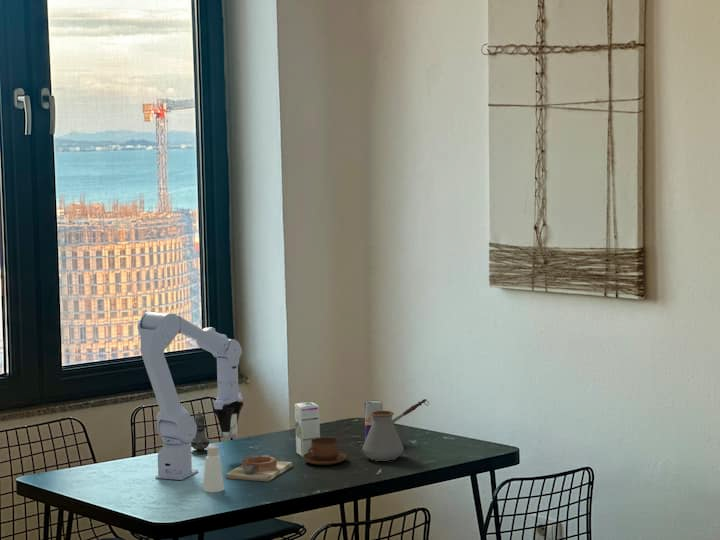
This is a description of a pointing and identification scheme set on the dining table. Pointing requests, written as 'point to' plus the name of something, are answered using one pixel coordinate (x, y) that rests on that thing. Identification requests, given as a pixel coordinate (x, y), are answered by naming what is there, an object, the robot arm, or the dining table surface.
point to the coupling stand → (259, 468)
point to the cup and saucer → (324, 452)
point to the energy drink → (369, 408)
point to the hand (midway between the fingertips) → (229, 430)
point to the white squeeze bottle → (213, 471)
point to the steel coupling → (231, 428)
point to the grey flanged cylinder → (200, 437)
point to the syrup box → (306, 426)
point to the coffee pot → (385, 436)
